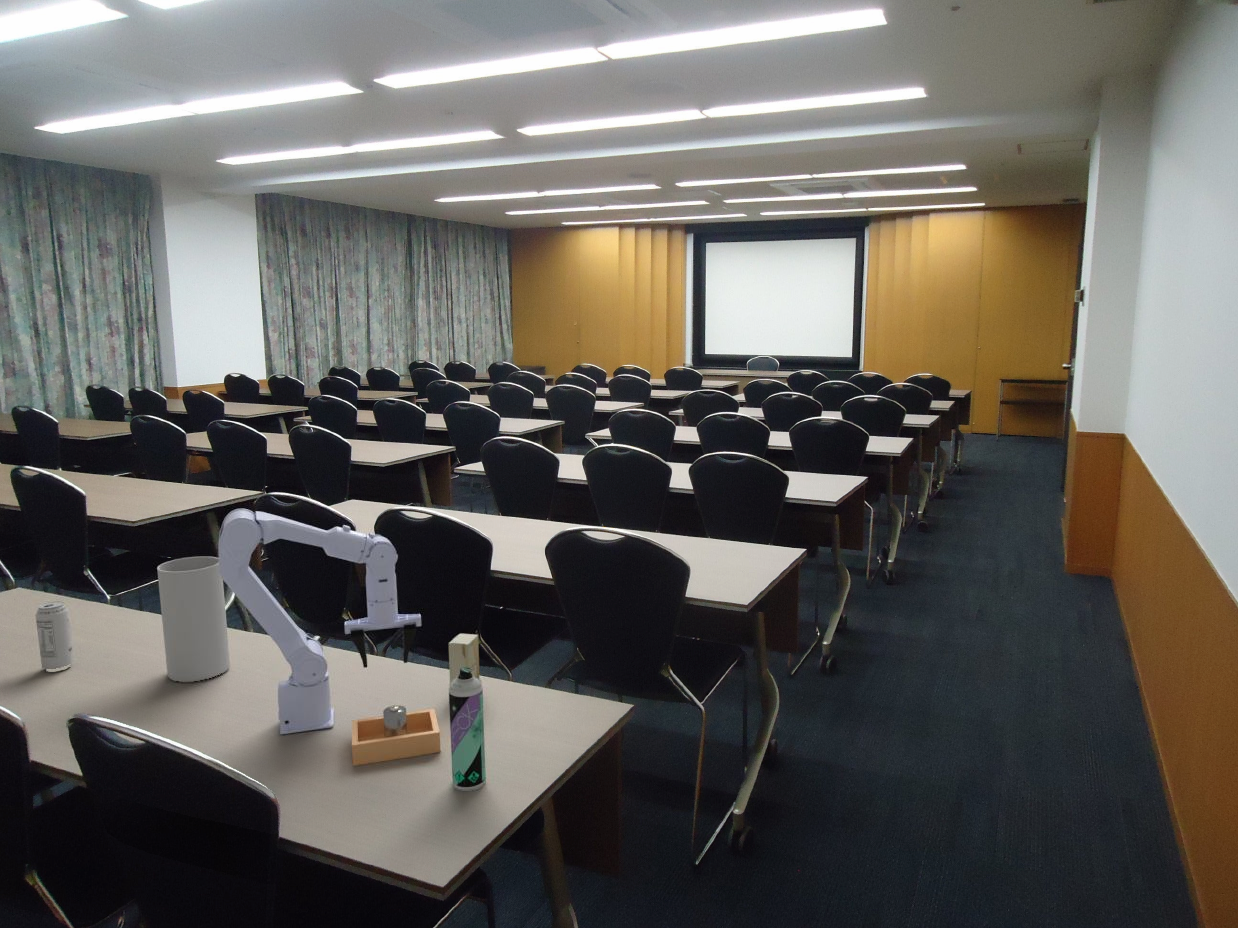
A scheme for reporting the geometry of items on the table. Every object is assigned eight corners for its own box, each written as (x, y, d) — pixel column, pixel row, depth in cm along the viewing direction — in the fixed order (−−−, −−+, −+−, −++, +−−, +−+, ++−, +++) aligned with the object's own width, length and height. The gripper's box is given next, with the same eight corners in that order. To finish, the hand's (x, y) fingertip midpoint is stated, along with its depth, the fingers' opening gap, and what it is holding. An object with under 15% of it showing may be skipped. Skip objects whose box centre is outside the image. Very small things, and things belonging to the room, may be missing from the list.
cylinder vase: (234, 674, 184) (225, 565, 180) (171, 688, 177) (160, 575, 173) (225, 657, 194) (216, 553, 191) (164, 669, 188) (154, 562, 184)
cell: (382, 746, 150) (380, 712, 149) (388, 735, 154) (386, 702, 153) (404, 746, 150) (402, 711, 149) (409, 735, 154) (408, 702, 153)
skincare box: (469, 701, 170) (467, 644, 168) (449, 700, 171) (447, 643, 169) (480, 688, 176) (479, 633, 174) (461, 687, 177) (459, 632, 175)
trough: (353, 765, 145) (351, 745, 144) (352, 739, 154) (351, 720, 154) (440, 751, 149) (439, 732, 149) (435, 727, 159) (434, 708, 158)
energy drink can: (79, 666, 190) (72, 603, 187) (50, 675, 185) (42, 610, 182) (66, 661, 193) (59, 598, 191) (37, 669, 188) (29, 606, 186)
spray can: (454, 774, 142) (449, 663, 139) (487, 772, 142) (483, 661, 139) (450, 792, 136) (445, 676, 133) (484, 790, 137) (480, 675, 134)
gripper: (418, 588, 170) (421, 651, 172) (343, 595, 166) (347, 660, 168) (420, 598, 163) (423, 664, 165) (342, 606, 159) (347, 673, 161)
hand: (385, 663), depth 166 cm, fingers open, 7 cm apart
